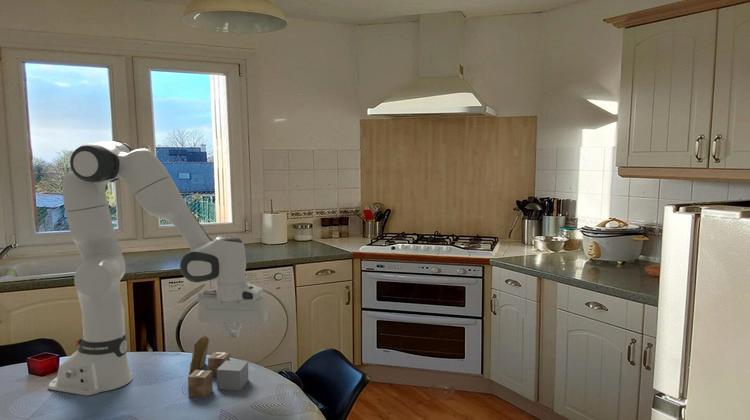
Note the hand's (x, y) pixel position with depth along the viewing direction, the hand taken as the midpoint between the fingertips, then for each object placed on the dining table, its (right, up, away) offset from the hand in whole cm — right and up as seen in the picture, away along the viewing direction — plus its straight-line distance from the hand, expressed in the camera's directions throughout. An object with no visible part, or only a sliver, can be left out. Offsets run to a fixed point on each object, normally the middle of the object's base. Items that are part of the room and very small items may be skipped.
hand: (233, 336), depth 160 cm
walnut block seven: (-7, -14, +9) cm, 18 cm away
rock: (-16, -14, +13) cm, 24 cm away
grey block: (-1, -15, +2) cm, 15 cm away
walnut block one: (-8, -15, -5) cm, 18 cm away
